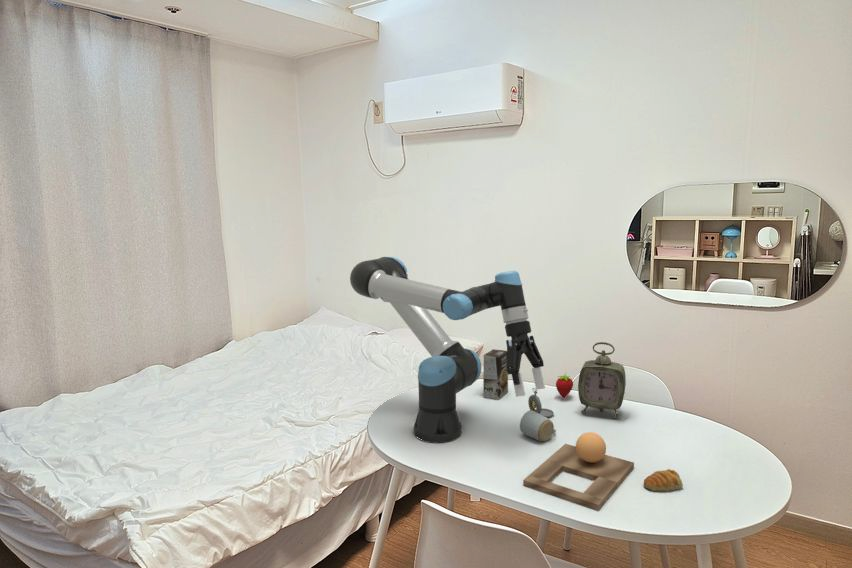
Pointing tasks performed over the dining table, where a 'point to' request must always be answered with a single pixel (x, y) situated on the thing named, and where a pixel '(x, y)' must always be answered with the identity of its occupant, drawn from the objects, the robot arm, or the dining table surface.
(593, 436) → the ball
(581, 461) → the hole board
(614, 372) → the tabletop clock
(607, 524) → the dining table surface
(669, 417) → the dining table surface
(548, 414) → the pocket watch
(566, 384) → the strawberry
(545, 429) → the ceramic mug
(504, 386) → the coffee box
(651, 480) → the pastry
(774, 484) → the dining table surface
